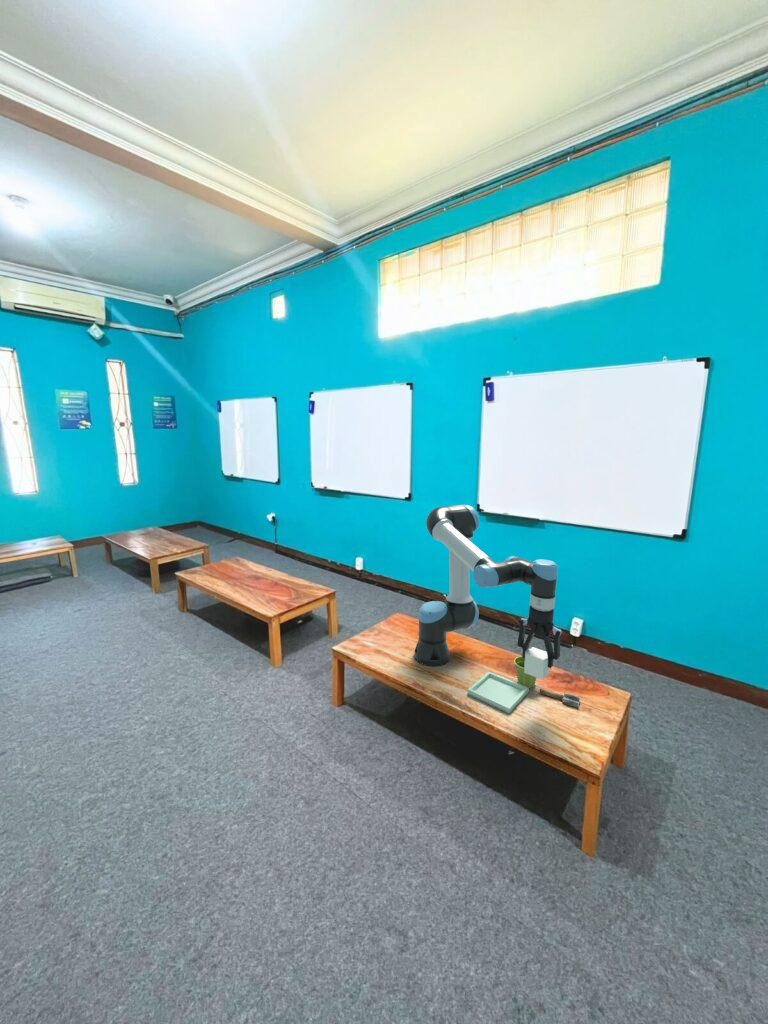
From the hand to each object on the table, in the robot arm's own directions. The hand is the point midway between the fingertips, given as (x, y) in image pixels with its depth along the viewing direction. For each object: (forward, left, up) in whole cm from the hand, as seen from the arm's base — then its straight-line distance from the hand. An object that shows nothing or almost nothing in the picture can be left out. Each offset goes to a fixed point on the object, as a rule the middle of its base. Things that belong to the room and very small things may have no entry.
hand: (536, 671), depth 135 cm
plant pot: (-8, +13, -14) cm, 21 cm away
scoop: (+4, +11, -14) cm, 19 cm away
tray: (-13, 0, -14) cm, 19 cm away
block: (0, 0, 0) cm, 0 cm away
